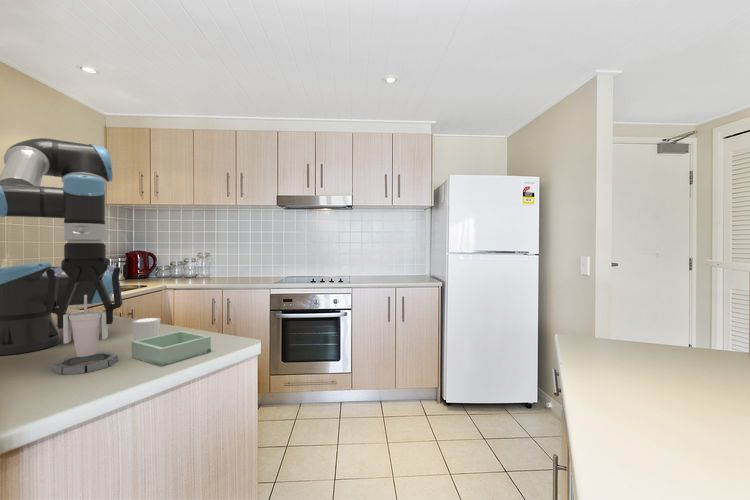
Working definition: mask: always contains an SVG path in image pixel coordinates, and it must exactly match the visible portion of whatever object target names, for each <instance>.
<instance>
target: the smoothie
mask: <svg viewBox="0 0 750 500" xmlns="http://www.w3.org/2000/svg"><path fill="white" fill-rule="evenodd" d="M102 312H103V310H102V311H101V310H89V311H88V304H87V295H84V305H83V311H79V312H73V313H71V314H70V315H69V320H70V321H71V334H72V338H73V343H74V350H75V356H78V357H84V356H90V355H94V354H96V353H98V344H99V337H100V330H101V327H102Z"/></svg>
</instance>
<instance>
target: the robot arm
mask: <svg viewBox="0 0 750 500" xmlns="http://www.w3.org/2000/svg"><path fill="white" fill-rule="evenodd" d="M3 163H4V166H3V168H2V171H1V173H0V217H1V218H3V217H4V218H5V217H16V218H17V217H19V218H48V219H63V240H64V241H65V242H66V241H67V242H66V243H65V244H64V245H63V257H64V258H62V260H61V262H60V264H61V266H52V264H51V262H50V261H44V262H43V261H42V262H34V263H26V264H18V265H10V266H2V267H0V356H7V355H9V356H10V355H17V354H23V353H30V352H35V351H40V350H43V349H44V350H45V349H48V348H52V347H54V346H57V345H58V344H60V342H61V335H60V331H59V330H60V329H62V330H63V331H62V333H63V344H68V343H70V342H71V341H72V327H71V321H70V320H69V315H70V314H72V313H71V312H68V308H69V306H70V307H71V306H82V305H83V306H84V295H87V305H95V304H103V307H104V310H102V318H101V340H106V339H108V337H109V325H112V324H113V323H114V310H116V309H119V308H121V307H122V306H123V298H122V296H123V295H122V290H121V289H122V288H121V281H120V275H121V271H122V267H121V266H116V265H115V264H111V259H110V258H109V257H107V256H106V255H107V253H106V252H107V251H106V250H107V249H106V244H105V243H104V242H105V241H106V220H105V219H106V194H107V193H106V189H105V188H106V187H107V186H108V183H109V182H110V183H111V182H112V181H113V168H112V160H111V156H110V152H109V151H108V149H107V148H106V147H103V146H100V145H94V144H93V143H89V144H88V143H80V142H73V141H67V140H62V139H61V140H60V139H54V138H42V137H41V138H39V137H38V138H31V139H26V140H23V141H19V142H17V143H15V144H13V145H11V146H9V148H7V149H6V151H5V152H4V155H3ZM44 176H47V177H48V176H49V177H55V178H56V177H57V178H61V182H62V183H63V186H62V187H54V186H44V185H43V186H42V185H41V184H42V180H43V177H44ZM112 298H113V301H114V302H113V303H112V300H111V299H112ZM52 314H55V315H56V317H57V318H56V319H57V323H55V320H54V319H53V317H52ZM58 329H59V330H58Z"/></svg>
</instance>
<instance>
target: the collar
mask: <svg viewBox="0 0 750 500" xmlns="http://www.w3.org/2000/svg"><path fill="white" fill-rule="evenodd" d="M99 360H100V361H99ZM86 361H88V362H89V361H96V362H91V363H87V364H80V363H84V362H86ZM117 362H118V354H117V353H114V352H110V351H109V352H108V351H102V352H99V351H98V352H97V353H96V354H94V355H90V356H84V357H78V356H76V355H74V356H70V357H66V358H63V359H61V360H59V361H57V362H55V363H53V372H54V373H56V374H59V375H63V376H65V375H76V374H86V373H91V372H95V371H99V370H102V369H106V368H109V367H111V366H112V365H114V364H115V363H117ZM75 364H80V365H75Z"/></svg>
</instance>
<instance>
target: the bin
mask: <svg viewBox="0 0 750 500" xmlns="http://www.w3.org/2000/svg"><path fill="white" fill-rule="evenodd" d="M211 338H212V336H210V335H205V334H199V333H194V332H189V331H186V330H179V331H173V332H170V333H169V332H168V333H165V334H161V335H160V334H159V336H155V337H151V338H146V339H142V340H137V341H135V340H133V341H131V358H133V359H135V360H136V359H137V360H140V361H143V362H146V363H150V364H153V365H154V366H155V365H156V366H159V367H163V366H167V365H170V364H173V363H176V362H179V361H180V362H181V361H183V360H187V359H191V358H193V357H197V356H200V355H203V354H207V353H211V351H212V348H211V347H212V346H211V345H212V344H211V343H212V341H211V340H212V339H211Z"/></svg>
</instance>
